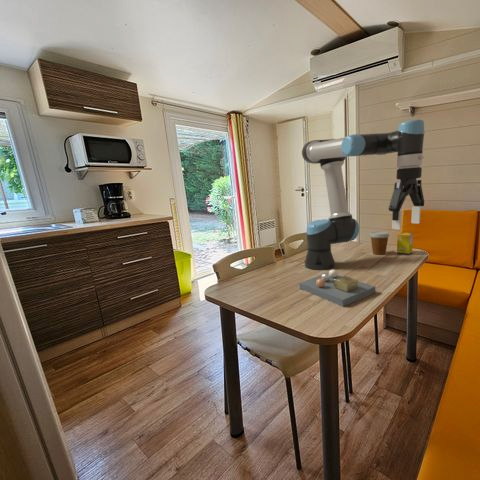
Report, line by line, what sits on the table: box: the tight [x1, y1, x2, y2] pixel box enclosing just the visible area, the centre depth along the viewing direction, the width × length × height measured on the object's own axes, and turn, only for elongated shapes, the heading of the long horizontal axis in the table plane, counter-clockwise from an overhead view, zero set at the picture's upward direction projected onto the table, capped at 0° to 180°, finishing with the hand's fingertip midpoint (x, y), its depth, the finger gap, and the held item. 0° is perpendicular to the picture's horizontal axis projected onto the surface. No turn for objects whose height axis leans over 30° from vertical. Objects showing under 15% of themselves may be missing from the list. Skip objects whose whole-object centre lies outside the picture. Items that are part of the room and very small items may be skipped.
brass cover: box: [334, 275, 359, 292], centre depth 100 cm, size 6×6×3 cm
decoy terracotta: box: [316, 279, 325, 287], centre depth 103 cm, size 3×3×3 cm
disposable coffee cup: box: [369, 230, 390, 256], centre depth 147 cm, size 10×10×12 cm
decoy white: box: [328, 269, 338, 278], centre depth 112 cm, size 3×3×3 cm
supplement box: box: [396, 232, 414, 256], centre depth 143 cm, size 6×6×11 cm
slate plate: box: [298, 272, 376, 307], centre depth 105 cm, size 22×18×2 cm
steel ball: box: [320, 272, 330, 281], centre depth 108 cm, size 3×3×3 cm
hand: (406, 226), depth 98 cm, fingers open, 13 cm apart
